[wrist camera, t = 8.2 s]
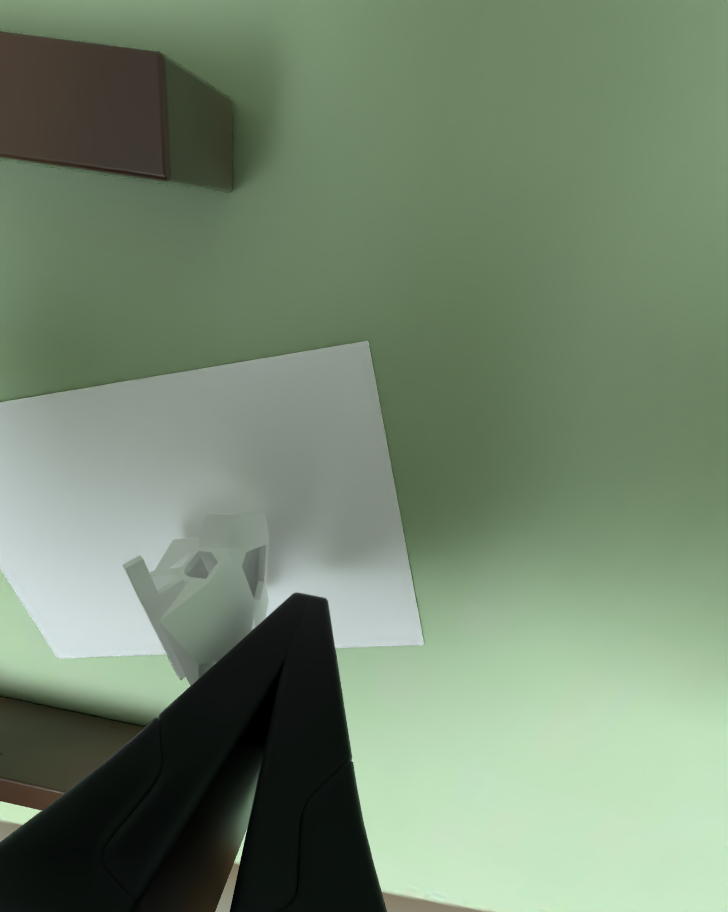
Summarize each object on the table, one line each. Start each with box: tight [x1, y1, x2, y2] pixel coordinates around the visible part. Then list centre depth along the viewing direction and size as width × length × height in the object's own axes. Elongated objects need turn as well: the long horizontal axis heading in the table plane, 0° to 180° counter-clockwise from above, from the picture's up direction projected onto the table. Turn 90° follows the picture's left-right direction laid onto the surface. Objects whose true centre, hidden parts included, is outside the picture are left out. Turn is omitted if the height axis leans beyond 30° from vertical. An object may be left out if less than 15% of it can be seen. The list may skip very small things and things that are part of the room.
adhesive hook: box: [122, 511, 270, 685], centre depth 9 cm, size 3×3×3 cm
